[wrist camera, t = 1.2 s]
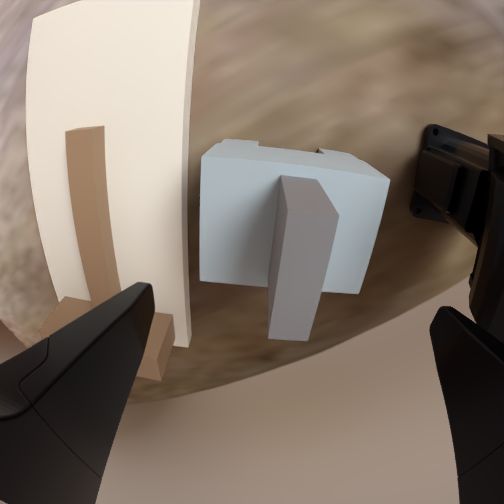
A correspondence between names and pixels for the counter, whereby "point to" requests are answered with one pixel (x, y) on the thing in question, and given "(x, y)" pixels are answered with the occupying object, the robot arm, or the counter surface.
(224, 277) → the cabinet block
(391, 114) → the counter surface
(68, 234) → the mounting board
